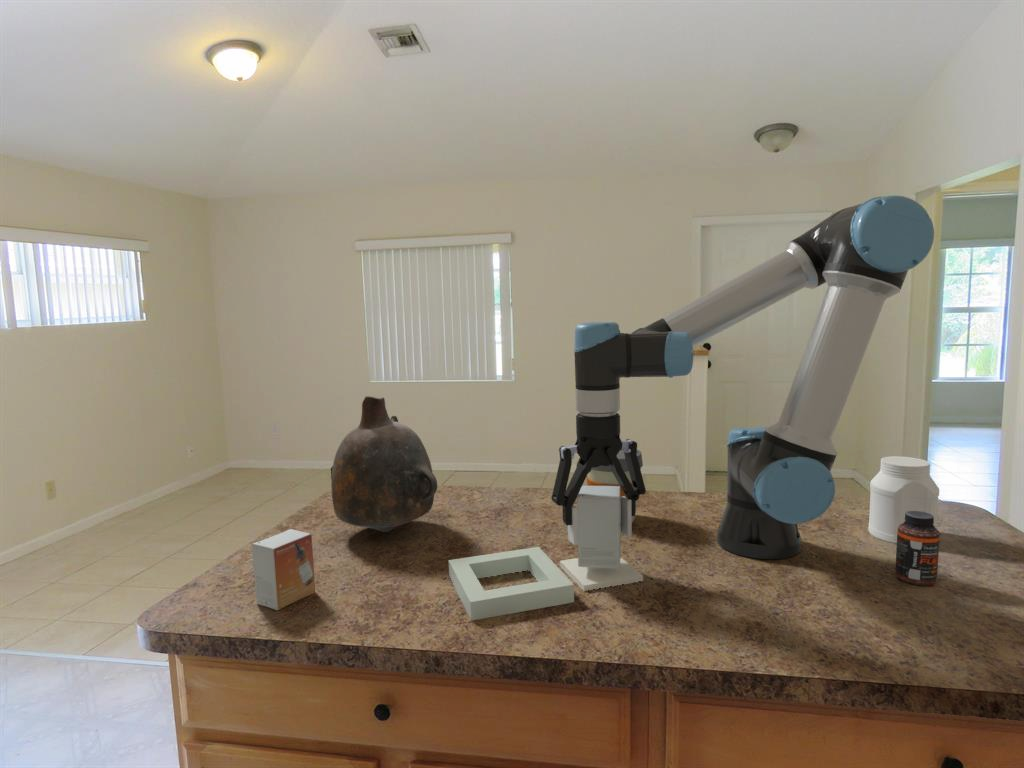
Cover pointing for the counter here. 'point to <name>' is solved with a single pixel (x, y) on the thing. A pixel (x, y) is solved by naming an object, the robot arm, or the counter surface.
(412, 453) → the jug
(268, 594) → the small box
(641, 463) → the reusable coffee cup
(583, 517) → the supplement box
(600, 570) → the tile
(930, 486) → the jar
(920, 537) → the supplement bottle
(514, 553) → the holder
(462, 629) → the counter surface
